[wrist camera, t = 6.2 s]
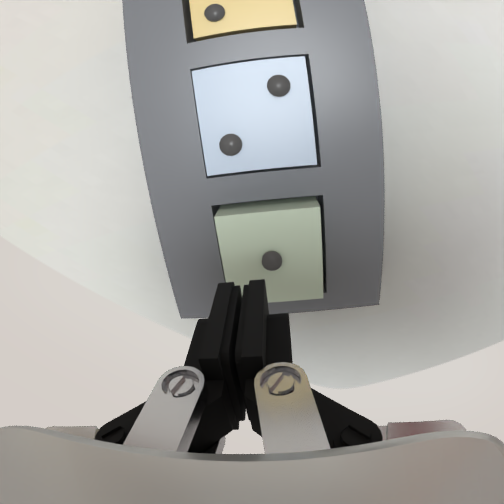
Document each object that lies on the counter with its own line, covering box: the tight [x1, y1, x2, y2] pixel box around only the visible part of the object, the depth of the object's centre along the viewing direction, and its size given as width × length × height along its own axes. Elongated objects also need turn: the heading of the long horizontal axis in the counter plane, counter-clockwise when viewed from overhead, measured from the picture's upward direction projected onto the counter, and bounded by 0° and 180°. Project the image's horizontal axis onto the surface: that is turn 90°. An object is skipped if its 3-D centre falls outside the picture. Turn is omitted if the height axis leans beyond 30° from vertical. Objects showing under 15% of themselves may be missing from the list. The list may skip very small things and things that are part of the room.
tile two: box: [192, 56, 317, 176], centre depth 14 cm, size 5×5×2 cm
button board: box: [122, 0, 384, 318], centre depth 15 cm, size 12×22×4 cm, turn 7°
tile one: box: [214, 196, 323, 303], centre depth 17 cm, size 5×5×2 cm
